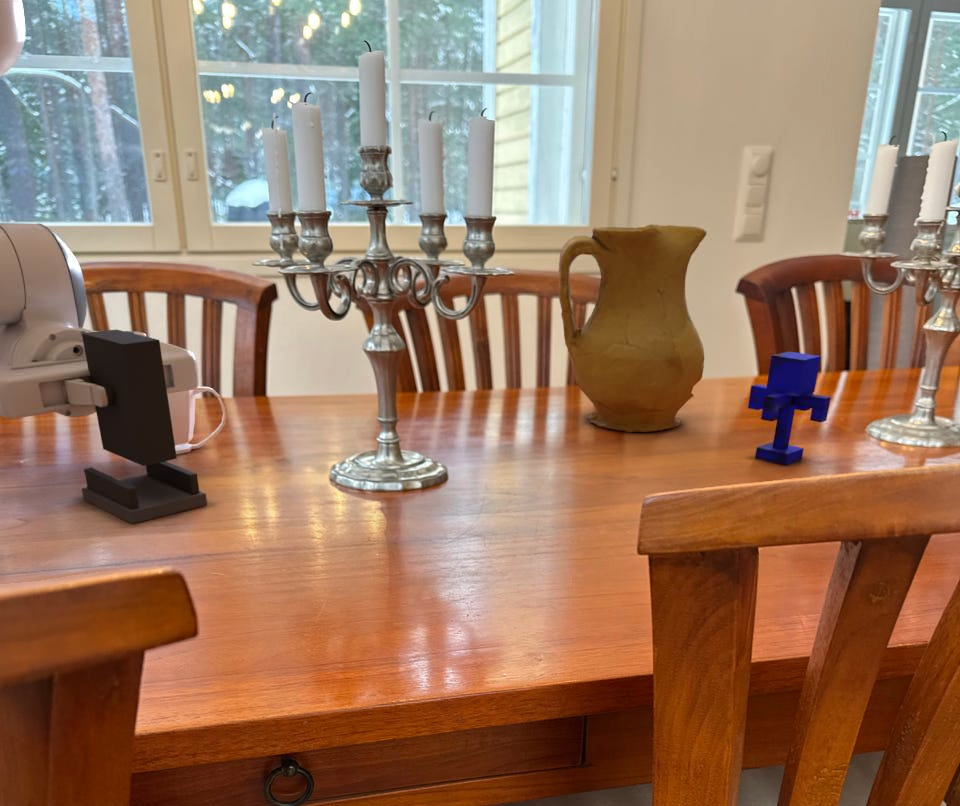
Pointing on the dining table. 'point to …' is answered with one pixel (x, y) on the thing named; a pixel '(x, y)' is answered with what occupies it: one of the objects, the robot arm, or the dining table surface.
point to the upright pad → (131, 395)
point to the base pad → (145, 492)
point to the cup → (188, 418)
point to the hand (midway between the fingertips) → (133, 393)
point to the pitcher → (635, 326)
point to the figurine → (788, 402)
